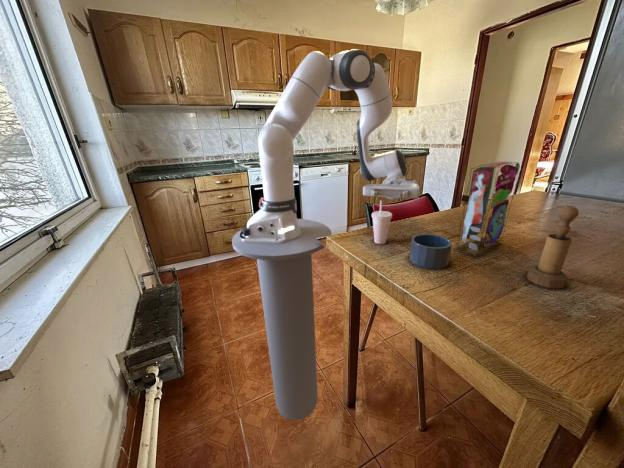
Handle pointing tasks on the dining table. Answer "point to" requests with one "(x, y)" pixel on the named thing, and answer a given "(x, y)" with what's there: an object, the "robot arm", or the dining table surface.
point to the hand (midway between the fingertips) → (387, 195)
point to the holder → (430, 251)
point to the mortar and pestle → (554, 253)
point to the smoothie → (381, 225)
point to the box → (480, 199)
